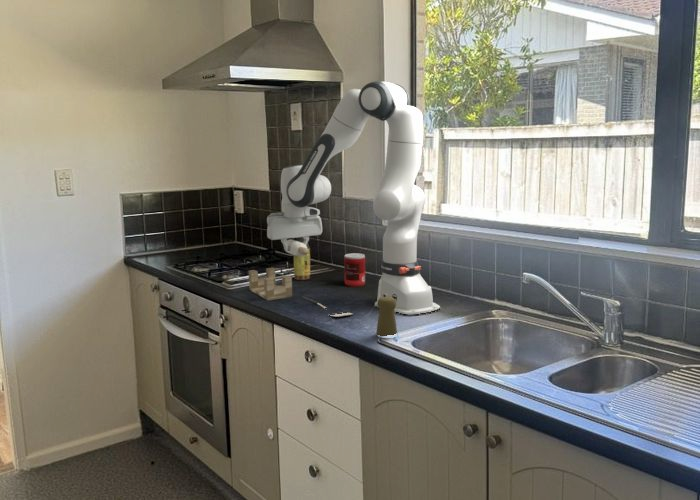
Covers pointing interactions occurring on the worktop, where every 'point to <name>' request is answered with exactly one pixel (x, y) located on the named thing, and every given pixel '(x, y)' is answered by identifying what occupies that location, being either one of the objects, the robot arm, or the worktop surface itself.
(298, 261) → the sauce bottle
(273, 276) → the holder
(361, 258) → the canned food
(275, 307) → the worktop surface
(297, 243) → the roll
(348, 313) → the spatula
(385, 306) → the olive green tall figure
